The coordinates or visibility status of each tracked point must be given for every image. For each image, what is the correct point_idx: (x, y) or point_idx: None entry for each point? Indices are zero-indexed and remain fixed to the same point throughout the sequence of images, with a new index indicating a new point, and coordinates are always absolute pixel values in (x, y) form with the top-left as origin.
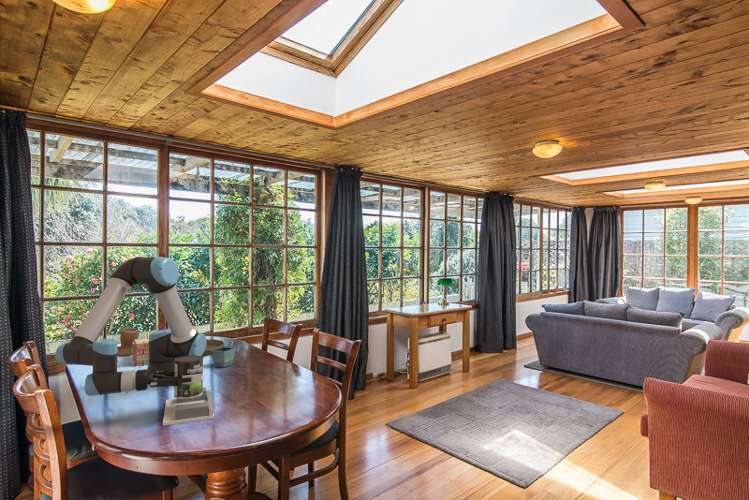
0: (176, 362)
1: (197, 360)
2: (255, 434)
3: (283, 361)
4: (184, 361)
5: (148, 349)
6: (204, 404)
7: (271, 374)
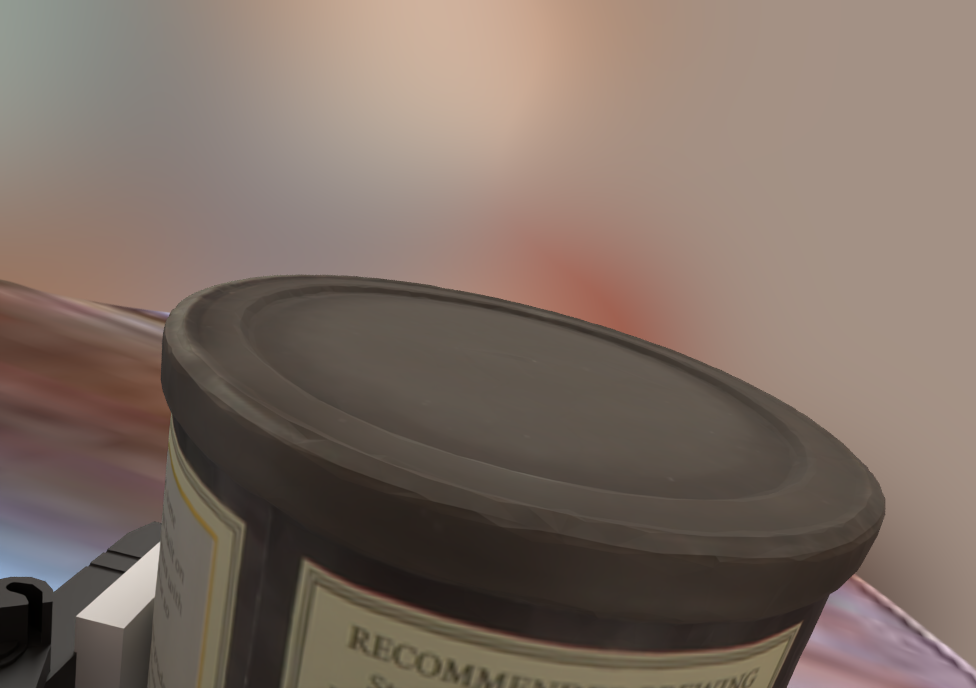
0: (820, 592)
1: (699, 365)
2: (915, 678)
3: (2, 286)
4: (827, 451)
5: None
6: None
7: (117, 355)
